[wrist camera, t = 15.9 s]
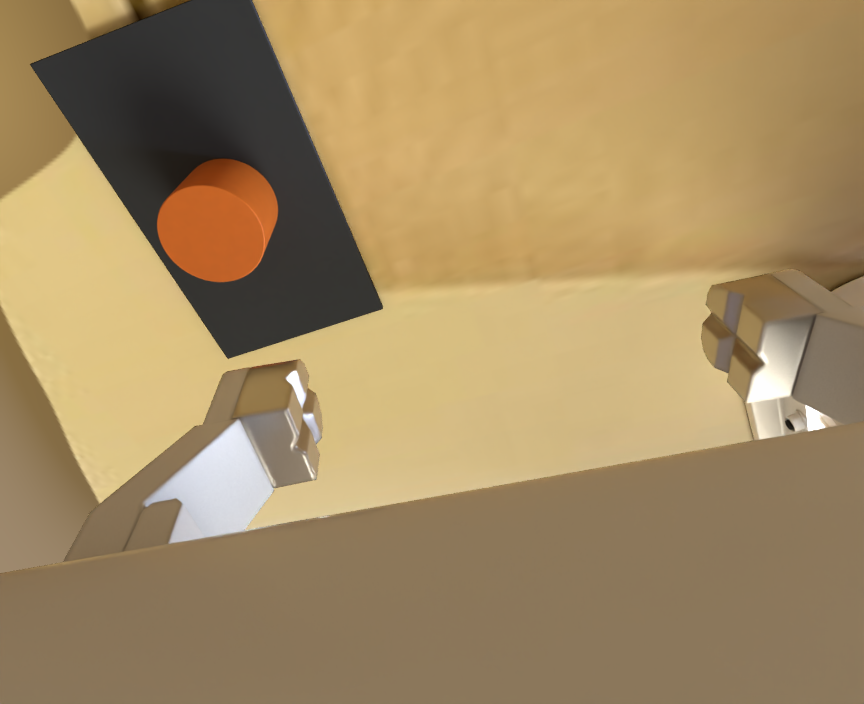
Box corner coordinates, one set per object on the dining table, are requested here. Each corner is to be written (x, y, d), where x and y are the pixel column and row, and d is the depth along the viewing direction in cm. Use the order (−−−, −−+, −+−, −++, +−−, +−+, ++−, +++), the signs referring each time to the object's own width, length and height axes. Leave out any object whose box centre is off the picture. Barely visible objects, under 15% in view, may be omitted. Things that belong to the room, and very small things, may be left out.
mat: (382, 306, 38) (382, 309, 38) (228, 355, 39) (227, 359, 39) (243, -20, 27) (241, -21, 27) (33, 63, 28) (29, 64, 28)
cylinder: (293, 230, 34) (282, 264, 30) (214, 257, 35) (193, 294, 30) (251, 144, 31) (233, 170, 27) (165, 176, 31) (134, 205, 27)
